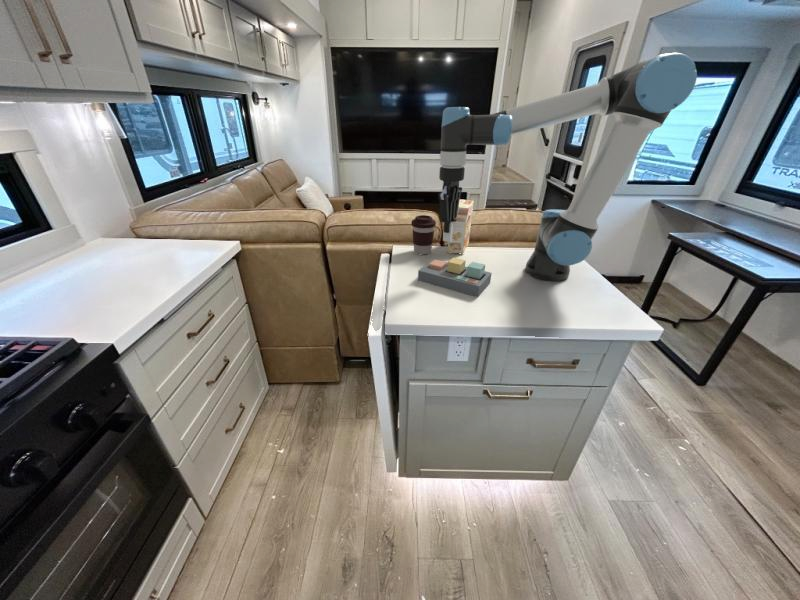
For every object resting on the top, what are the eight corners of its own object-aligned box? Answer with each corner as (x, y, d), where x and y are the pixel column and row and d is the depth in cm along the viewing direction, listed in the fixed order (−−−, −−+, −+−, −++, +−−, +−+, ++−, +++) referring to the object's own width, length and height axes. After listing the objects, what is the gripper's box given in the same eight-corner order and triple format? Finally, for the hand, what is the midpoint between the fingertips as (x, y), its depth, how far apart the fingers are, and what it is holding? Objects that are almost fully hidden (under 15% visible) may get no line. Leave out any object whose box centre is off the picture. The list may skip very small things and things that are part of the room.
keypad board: (490, 283, 113) (491, 271, 111) (477, 297, 104) (479, 285, 102) (433, 268, 123) (434, 258, 121) (417, 280, 114) (418, 269, 112)
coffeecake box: (463, 255, 135) (468, 208, 126) (446, 252, 138) (450, 206, 128) (469, 243, 148) (474, 200, 138) (453, 241, 150) (457, 198, 140)
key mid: (464, 269, 113) (465, 260, 111) (459, 274, 109) (460, 264, 108) (452, 266, 115) (453, 257, 113) (447, 271, 112) (447, 261, 110)
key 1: (446, 271, 117) (446, 262, 115) (440, 275, 114) (441, 266, 112) (434, 268, 119) (435, 259, 118) (428, 272, 116) (429, 263, 114)
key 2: (484, 274, 110) (485, 264, 108) (479, 279, 106) (480, 269, 104) (471, 271, 112) (472, 261, 110) (466, 275, 108) (467, 266, 107)
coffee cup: (412, 247, 143) (412, 213, 135) (434, 248, 142) (436, 214, 134) (409, 255, 134) (410, 220, 127) (433, 257, 133) (435, 221, 126)
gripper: (450, 163, 104) (445, 233, 116) (431, 168, 95) (428, 244, 106) (472, 164, 101) (465, 237, 112) (454, 169, 91) (449, 248, 103)
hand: (447, 240), depth 109 cm, fingers closed
